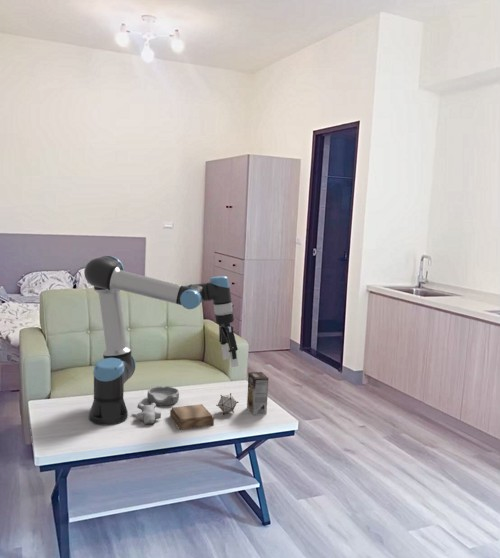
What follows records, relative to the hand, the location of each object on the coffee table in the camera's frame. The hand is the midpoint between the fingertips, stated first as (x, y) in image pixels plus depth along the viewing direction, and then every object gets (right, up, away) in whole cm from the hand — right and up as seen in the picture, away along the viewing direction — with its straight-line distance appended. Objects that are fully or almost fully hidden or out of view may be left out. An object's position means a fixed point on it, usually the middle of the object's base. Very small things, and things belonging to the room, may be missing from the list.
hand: (230, 362), depth 226 cm
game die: (-2, -22, +3) cm, 22 cm away
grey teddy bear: (-33, -22, -6) cm, 41 cm away
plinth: (-16, -23, -7) cm, 28 cm away
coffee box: (+11, -22, +7) cm, 26 cm away
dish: (-31, -20, +15) cm, 39 cm away
